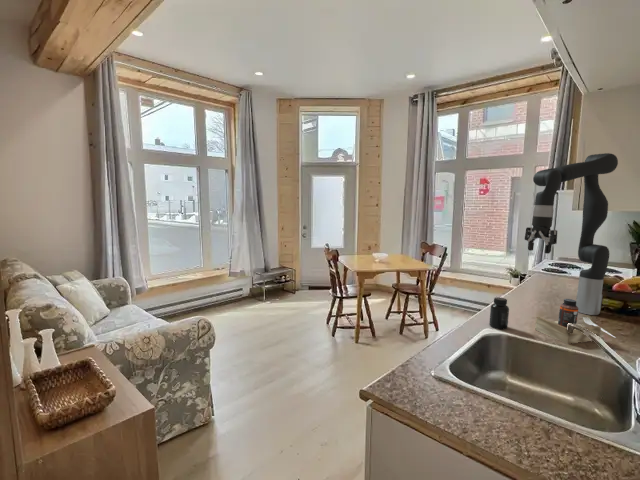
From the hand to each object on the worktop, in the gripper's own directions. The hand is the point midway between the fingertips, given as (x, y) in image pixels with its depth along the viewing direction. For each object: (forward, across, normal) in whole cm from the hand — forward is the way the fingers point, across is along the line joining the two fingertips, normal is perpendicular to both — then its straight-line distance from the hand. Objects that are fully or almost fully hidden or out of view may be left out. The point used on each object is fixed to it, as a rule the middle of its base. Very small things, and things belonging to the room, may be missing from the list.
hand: (538, 251), depth 157 cm
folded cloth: (+30, -21, +5) cm, 37 cm away
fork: (+31, -18, -17) cm, 40 cm away
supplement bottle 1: (+30, -8, +26) cm, 41 cm away
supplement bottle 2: (+27, -21, +5) cm, 35 cm away
